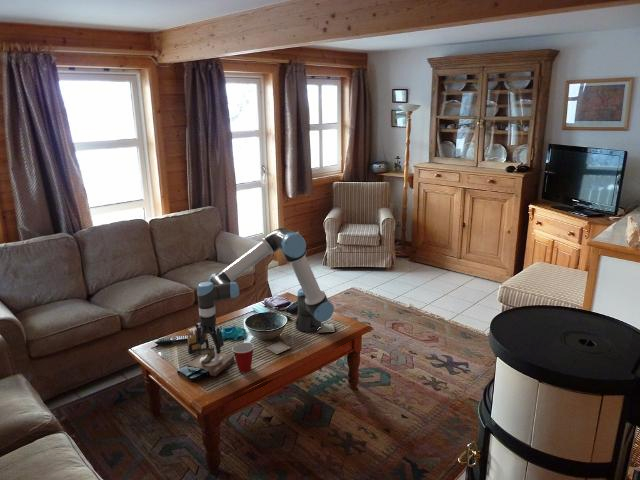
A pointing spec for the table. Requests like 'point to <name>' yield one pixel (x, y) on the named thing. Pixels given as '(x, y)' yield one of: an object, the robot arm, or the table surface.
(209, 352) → the eagle figurine
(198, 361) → the plinth
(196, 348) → the ammunition clip
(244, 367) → the plastic cup
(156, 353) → the table surface
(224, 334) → the toy car
